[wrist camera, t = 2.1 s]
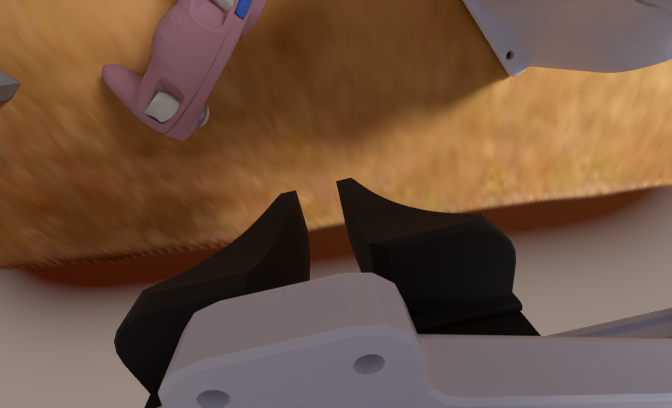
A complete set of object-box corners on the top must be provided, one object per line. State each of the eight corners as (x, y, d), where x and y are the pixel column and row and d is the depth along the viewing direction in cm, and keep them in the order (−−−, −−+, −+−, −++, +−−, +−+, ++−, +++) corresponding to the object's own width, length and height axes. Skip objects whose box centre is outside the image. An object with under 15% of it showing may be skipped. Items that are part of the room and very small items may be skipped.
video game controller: (181, 110, 20) (197, 169, 16) (97, 73, 17) (89, 135, 12) (257, -34, 17) (303, -11, 12) (172, -114, 14) (196, -121, 9)
